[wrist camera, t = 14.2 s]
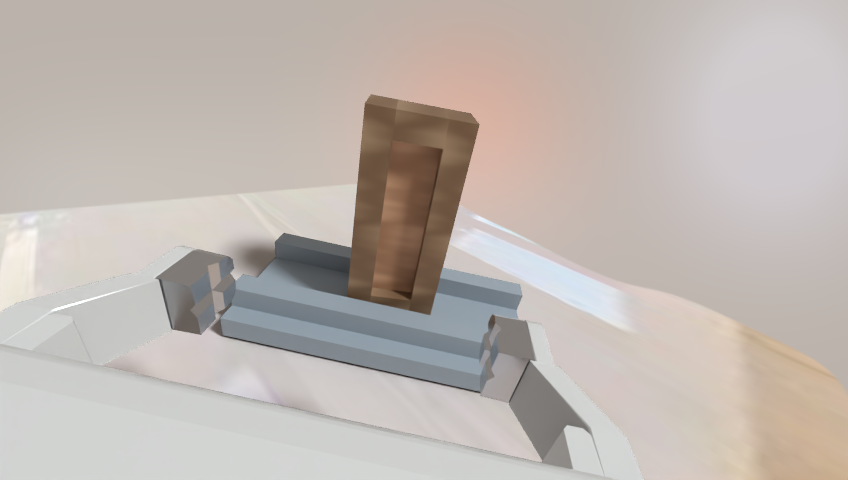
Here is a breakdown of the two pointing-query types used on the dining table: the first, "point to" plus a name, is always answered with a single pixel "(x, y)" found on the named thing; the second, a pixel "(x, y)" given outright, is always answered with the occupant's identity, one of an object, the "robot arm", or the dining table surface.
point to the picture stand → (366, 315)
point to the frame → (407, 200)
